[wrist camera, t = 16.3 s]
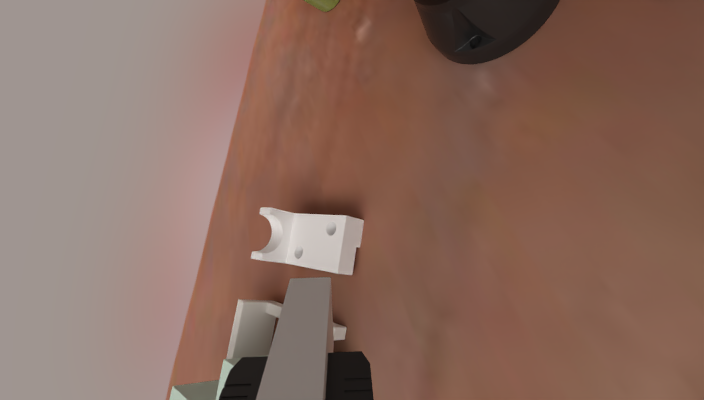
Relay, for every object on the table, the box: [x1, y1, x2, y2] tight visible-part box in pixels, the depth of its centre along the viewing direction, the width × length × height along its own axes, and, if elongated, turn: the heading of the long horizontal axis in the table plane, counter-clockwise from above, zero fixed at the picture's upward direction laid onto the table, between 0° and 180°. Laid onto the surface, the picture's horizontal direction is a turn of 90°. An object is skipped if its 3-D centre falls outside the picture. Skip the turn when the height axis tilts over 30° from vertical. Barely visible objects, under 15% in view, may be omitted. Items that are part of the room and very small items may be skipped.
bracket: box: [251, 207, 364, 275], centre depth 50 cm, size 13×7×8 cm, turn 80°
